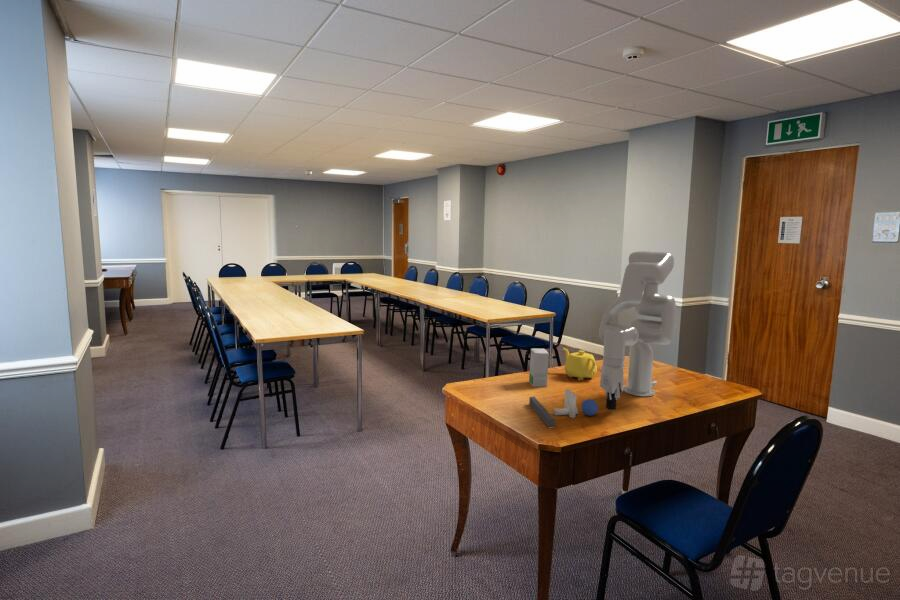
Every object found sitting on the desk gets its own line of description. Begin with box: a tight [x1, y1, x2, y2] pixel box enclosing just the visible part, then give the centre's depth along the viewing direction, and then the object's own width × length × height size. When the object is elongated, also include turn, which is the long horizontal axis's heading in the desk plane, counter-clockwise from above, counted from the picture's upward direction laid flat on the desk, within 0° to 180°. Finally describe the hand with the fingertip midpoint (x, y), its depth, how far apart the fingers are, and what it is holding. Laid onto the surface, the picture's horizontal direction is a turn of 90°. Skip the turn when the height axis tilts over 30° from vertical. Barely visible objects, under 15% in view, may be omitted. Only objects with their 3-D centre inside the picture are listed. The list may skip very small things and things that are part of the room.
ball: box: [580, 398, 599, 417], centre depth 182 cm, size 6×6×6 cm
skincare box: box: [528, 347, 550, 388], centre depth 219 cm, size 8×7×16 cm
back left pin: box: [568, 392, 577, 419], centre depth 180 cm, size 2×2×8 cm
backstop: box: [528, 396, 556, 428], centre depth 181 cm, size 2×24×3 cm, turn 7°
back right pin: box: [563, 388, 572, 408], centre depth 185 cm, size 2×2×8 cm
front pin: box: [553, 407, 579, 416], centre depth 183 cm, size 2×2×8 cm
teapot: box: [562, 347, 598, 381], centre depth 232 cm, size 14×20×13 cm
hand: (610, 408), depth 185 cm, fingers closed
